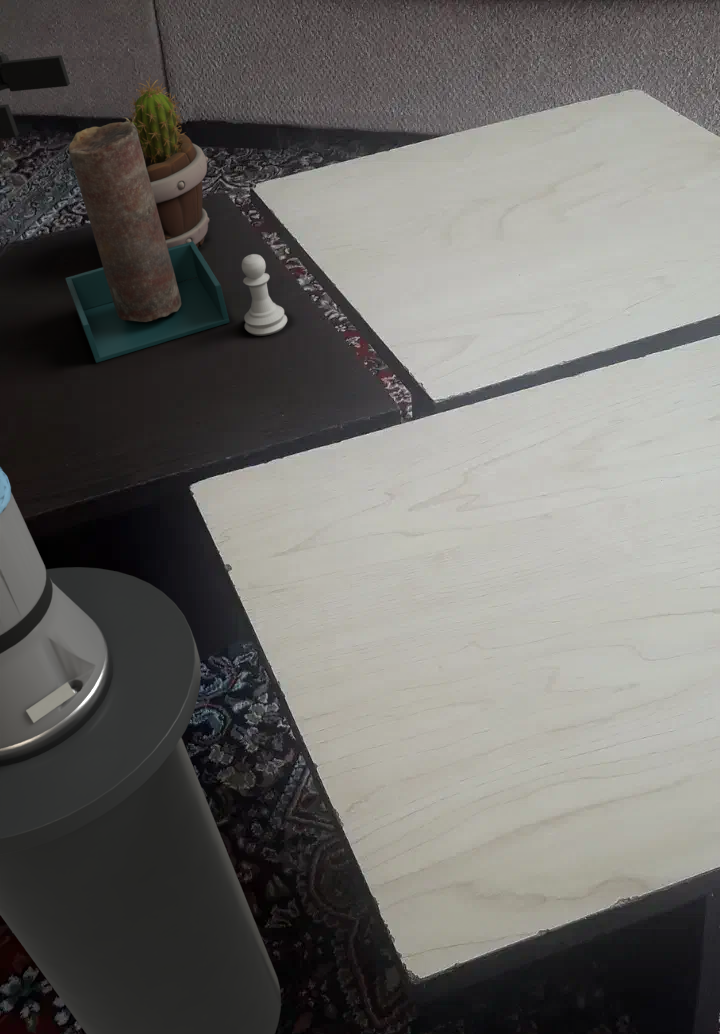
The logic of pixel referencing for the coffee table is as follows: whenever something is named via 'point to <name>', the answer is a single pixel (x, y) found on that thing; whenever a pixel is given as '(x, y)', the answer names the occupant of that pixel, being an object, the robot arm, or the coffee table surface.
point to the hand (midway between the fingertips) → (40, 94)
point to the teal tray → (124, 336)
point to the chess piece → (260, 299)
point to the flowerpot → (171, 167)
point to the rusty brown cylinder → (125, 221)
